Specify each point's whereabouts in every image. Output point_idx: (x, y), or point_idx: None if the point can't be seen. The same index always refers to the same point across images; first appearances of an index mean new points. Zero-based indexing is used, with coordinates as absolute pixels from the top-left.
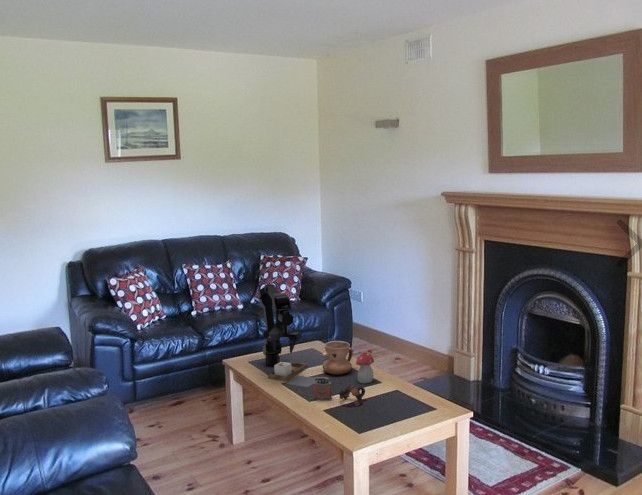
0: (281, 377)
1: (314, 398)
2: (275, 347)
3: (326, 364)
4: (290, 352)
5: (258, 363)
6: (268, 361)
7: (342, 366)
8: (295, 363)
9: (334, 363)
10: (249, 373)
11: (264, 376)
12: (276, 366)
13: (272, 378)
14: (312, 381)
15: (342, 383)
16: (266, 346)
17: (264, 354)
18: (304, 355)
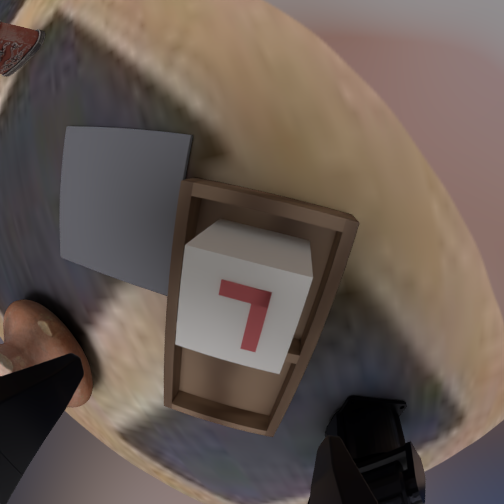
0: (233, 189)
1: (39, 30)
2: (313, 487)
3: (42, 344)
4: (65, 357)
5: (429, 419)
6: (387, 423)
7: (4, 320)
8: (230, 420)
9: (13, 334)
10: (475, 299)
11: (390, 264)
12: (287, 268)
13: (317, 206)
14: (70, 211)
15: (3, 225)
16: (412, 492)
17: (415, 450)
18: (248, 482)
